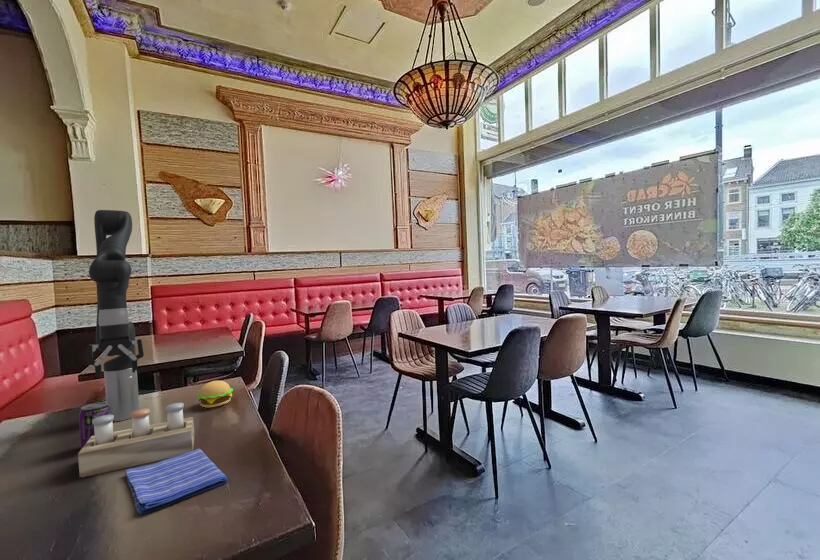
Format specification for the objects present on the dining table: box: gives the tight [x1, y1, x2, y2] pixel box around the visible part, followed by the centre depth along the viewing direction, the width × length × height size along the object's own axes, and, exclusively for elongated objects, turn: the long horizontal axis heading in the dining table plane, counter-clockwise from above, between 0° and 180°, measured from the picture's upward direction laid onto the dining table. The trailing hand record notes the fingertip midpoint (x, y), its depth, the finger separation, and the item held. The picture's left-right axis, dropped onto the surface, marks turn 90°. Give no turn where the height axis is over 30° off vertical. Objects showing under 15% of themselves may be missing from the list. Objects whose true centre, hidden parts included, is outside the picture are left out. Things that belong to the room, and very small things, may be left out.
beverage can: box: [78, 401, 111, 450], centre depth 113 cm, size 7×7×12 cm
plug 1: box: [92, 415, 114, 446], centre depth 101 cm, size 4×4×8 cm
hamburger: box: [196, 380, 234, 408], centre depth 145 cm, size 12×12×9 cm
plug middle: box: [130, 408, 151, 438], centre depth 105 cm, size 4×4×8 cm
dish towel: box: [125, 448, 229, 516], centre depth 92 cm, size 17×24×3 cm
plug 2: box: [164, 402, 185, 431], centre depth 109 cm, size 4×4×8 cm
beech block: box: [77, 416, 195, 478], centre depth 105 cm, size 12×24×6 cm, turn 117°
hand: (117, 374), depth 123 cm, fingers open, 8 cm apart
